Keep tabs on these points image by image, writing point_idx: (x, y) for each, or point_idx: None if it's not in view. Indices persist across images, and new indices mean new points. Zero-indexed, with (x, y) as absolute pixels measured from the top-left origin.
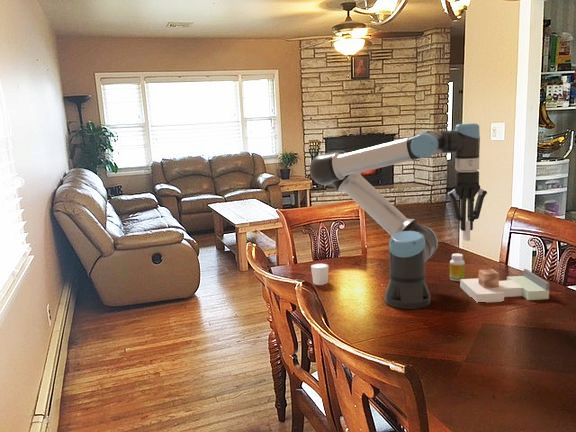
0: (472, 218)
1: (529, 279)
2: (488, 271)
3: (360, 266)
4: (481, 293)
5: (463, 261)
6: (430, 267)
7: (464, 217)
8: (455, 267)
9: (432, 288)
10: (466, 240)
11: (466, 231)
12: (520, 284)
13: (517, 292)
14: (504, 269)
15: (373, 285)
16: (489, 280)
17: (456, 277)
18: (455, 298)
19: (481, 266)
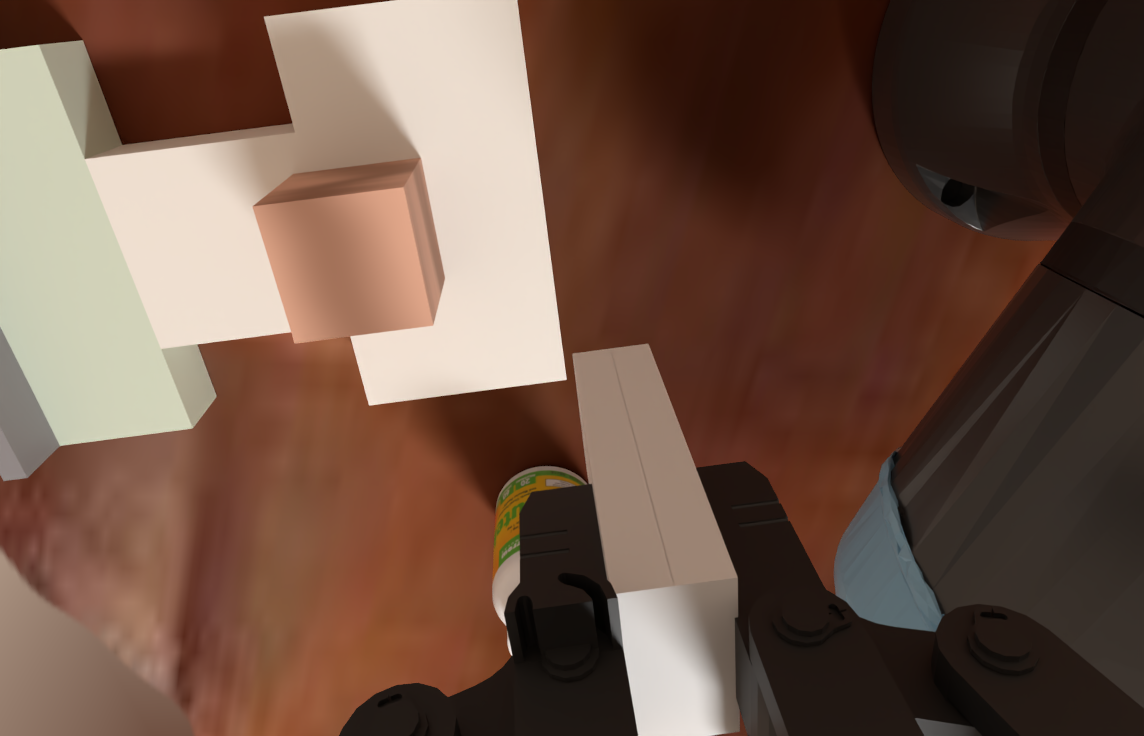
0: (549, 685)
1: (13, 354)
2: (348, 273)
3: None
4: (471, 10)
5: (507, 582)
6: None
7: (821, 691)
8: None
9: (764, 332)
10: (633, 348)
11: (664, 433)
12: (97, 240)
13: (148, 146)
14: (197, 666)
15: None
16: (362, 178)
17: (562, 481)
18: (659, 108)
19: (338, 714)
